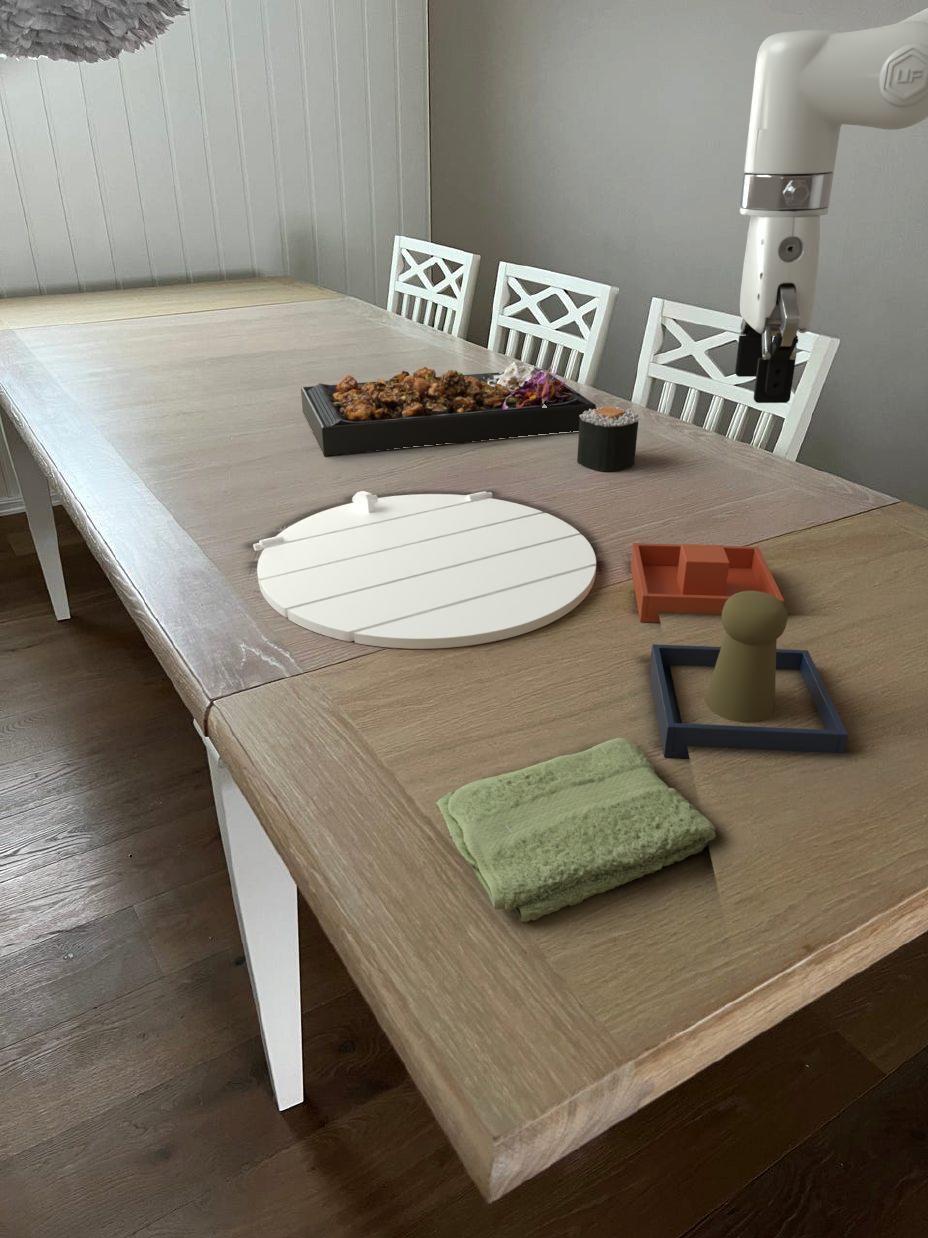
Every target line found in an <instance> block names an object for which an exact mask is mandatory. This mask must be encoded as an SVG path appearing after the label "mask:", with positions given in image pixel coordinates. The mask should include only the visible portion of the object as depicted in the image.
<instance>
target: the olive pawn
mask: <svg viewBox="0 0 928 1238" xmlns="http://www.w3.org/2000/svg"><path fill="white" fill-rule="evenodd" d="M787 623H788V610H787V608H786V607H785V603H784V604H783V603H782V601H780V600H779V599H778V598H776V597H774V596H772V595H770V594H768V593H764V592H759V591H743V592H739V593H736V594H733V595H732V596H731V597H730V598H729V599H728V600H727V601H726V603H725V605H724V607H723V611H722V614H721V624H722V627H723V629H724V631H725V634H724V637H723V641H722V642H721V643H722V644H721V646H720V647H721V650H720V653H719V656H718V659H717V662H716V666H715V667H714V669H713V672H712V676H711V679H710V682H709V685H708V688H707V692H706V695H705V699H704V700H705V704H706V706H707V708H709V710H711V712H712V713H714V714H715V715H717V716H719V717H721V718H723V719H726V720H729V721H732V722H738V723H743V724H745V723H748V724H749V723H750V724H752V723H753V724H754V723H760V722H763V721H766V720H768V719H770V718H771V716H772V715H774V713H775V709H776V708H775V707H776V674H777V671H776V670H777V669H776V649H777V643H778V642H777V639H779V638H780V637H781V636H782V635H783V634H784V632H785V630H786V628H787Z"/></svg>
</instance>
